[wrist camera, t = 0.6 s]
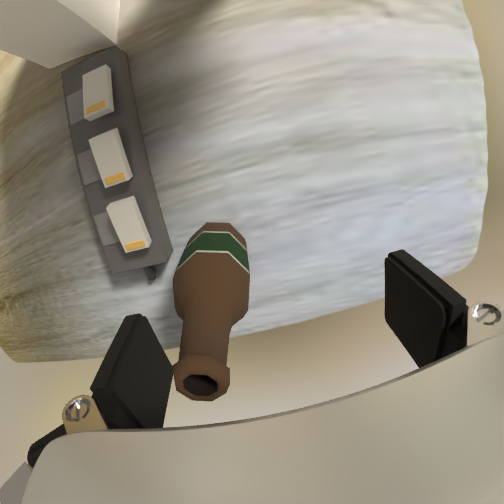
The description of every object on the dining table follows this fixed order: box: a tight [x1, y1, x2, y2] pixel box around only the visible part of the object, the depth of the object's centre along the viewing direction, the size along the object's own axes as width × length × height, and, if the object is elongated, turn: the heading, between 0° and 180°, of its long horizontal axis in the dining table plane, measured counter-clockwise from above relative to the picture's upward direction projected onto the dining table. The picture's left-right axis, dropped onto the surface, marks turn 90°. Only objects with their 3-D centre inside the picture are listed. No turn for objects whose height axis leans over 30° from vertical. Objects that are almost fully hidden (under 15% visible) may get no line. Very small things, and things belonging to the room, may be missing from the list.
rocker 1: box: [83, 64, 114, 121], centre depth 24 cm, size 6×3×2 cm, turn 11°
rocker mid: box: [89, 128, 133, 188], centre depth 27 cm, size 6×3×2 cm, turn 13°
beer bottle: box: [172, 223, 250, 401], centre depth 27 cm, size 8×8×24 cm
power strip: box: [62, 46, 173, 280], centre depth 31 cm, size 31×8×4 cm, turn 12°
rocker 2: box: [106, 196, 152, 253], centre depth 30 cm, size 6×3×2 cm, turn 14°
